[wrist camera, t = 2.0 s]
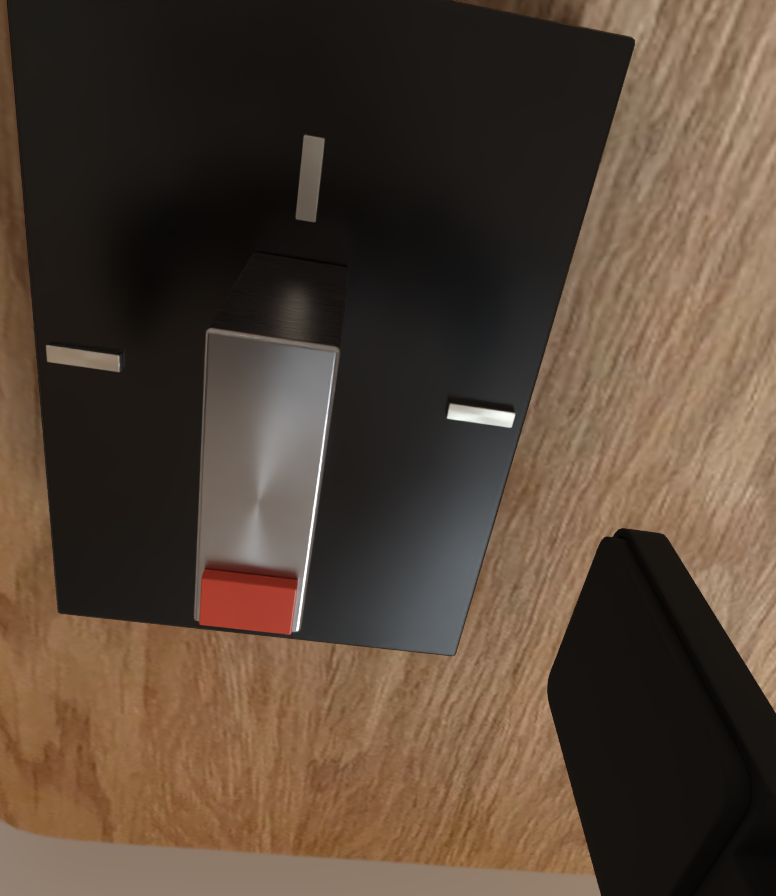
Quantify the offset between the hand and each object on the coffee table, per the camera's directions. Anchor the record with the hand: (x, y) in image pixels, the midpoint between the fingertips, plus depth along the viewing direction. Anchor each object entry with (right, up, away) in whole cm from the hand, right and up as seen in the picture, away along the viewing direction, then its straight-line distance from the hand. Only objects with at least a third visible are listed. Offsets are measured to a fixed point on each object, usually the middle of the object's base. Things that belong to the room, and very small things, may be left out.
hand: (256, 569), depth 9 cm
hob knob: (0, +3, +5) cm, 5 cm away
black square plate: (0, +4, +7) cm, 9 cm away
